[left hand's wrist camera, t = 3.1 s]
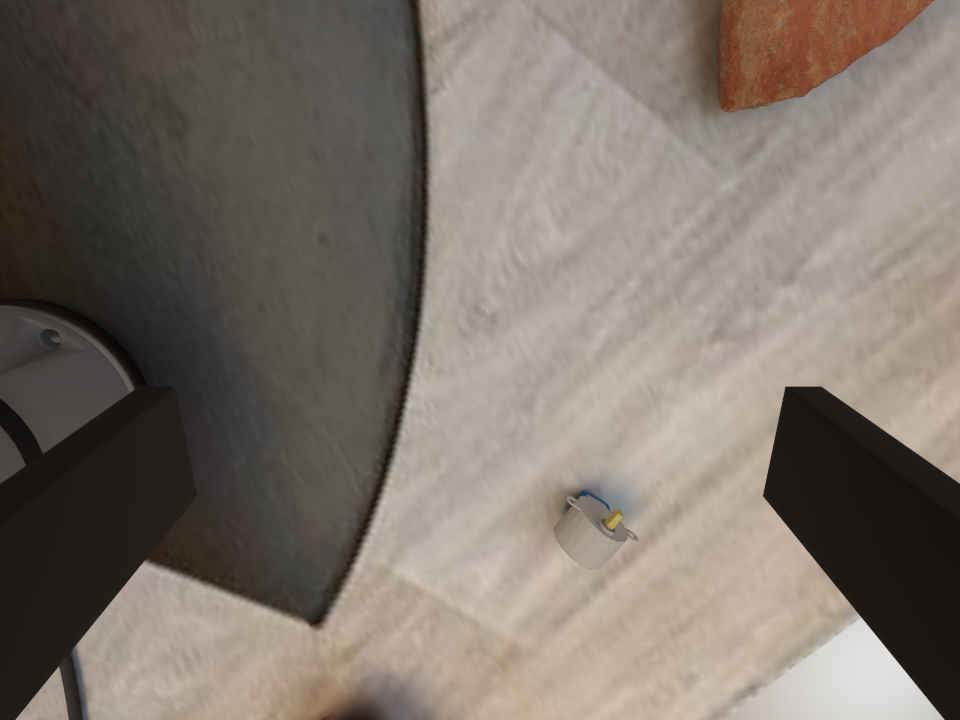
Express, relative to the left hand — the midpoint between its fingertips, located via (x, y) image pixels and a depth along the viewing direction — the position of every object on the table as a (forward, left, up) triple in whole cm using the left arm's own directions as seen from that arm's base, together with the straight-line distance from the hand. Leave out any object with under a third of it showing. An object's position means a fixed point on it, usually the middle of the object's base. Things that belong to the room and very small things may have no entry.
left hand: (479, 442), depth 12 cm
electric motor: (+21, +9, -28) cm, 36 cm away
